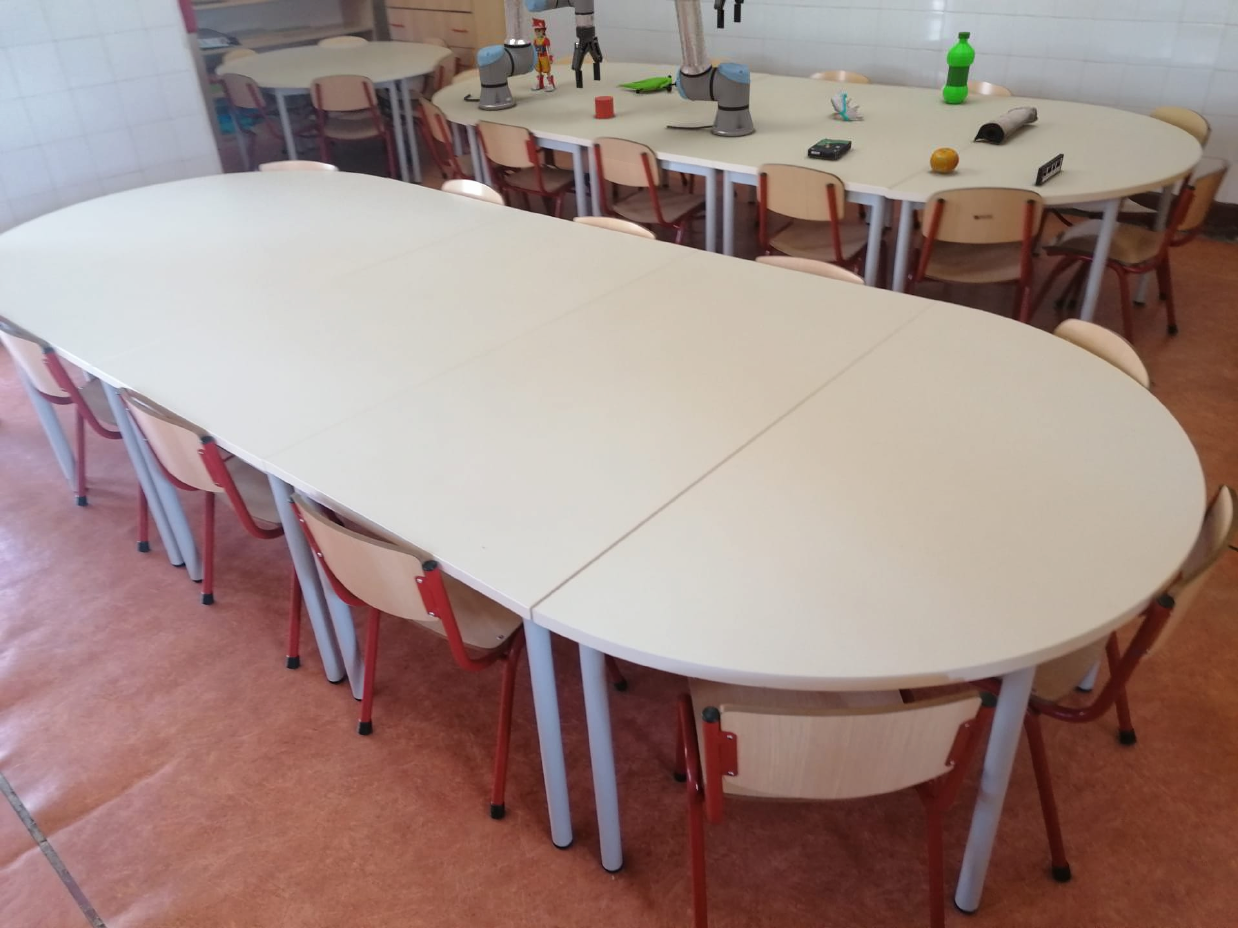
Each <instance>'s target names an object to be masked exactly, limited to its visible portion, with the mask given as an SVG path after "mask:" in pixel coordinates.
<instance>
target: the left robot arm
mask: <svg viewBox="0 0 1238 928" xmlns="http://www.w3.org/2000/svg"><path fill="white" fill-rule="evenodd" d="M503 3H504V18H505V30H506V31H505V32H506V38H505V39H504V40H503V45H501V44H493V45H489V46H485V47H483V48H481V49H480V50H478V52H477V56H476V59H477V61H476V63H477V67H478V74H479V75H478V76H479V82H480V95H479V98H469V97H471V93H469V94H467V95H465V96H464V97H463V99H464V101H468V102H478V106H479V109H480V110H484V111H500V110H506V109H510V108H512V107H514V106H515V99H514V97H513V95H512V92H511V89H510V86H509V81H508V79H509V78H513V77H518V76H522V75H527V74H529V73H532V72H533V71H534V70H535V67H536V65H537V59H538V56H537V51H536V50H535V49H536V48H535V46H534V45H533V43H532V41H531V39H530V38H529V37H528V30H527V16H526V15H527V14H526V13H527V12H526V9H527V11H528V12H530V13H542V12H546V11H550V10H556V9H562V8H574V23H575V26H576V27H575V37H576V38H577V39H578V42H576V41H575V42H573V43H574V46H573V47H574V49H573V56H572V62H571V67H570V68H571V70H572V71H574V75H575V76H574V77H575V88H576V89H584V79H583V69H582V67H583V63H584V60H585V57H586V55H587V54H588V53H589V54H590V57H591V59H592V60H593V62H592V70H593V71H592V72H593V81H597V82H600V81H601V64H602V63H603V60H604V57H603V53H602V50H601V47H600V44H599V39H598V36H596V26H595V24H596V22H595V19H596V17H595V0H503Z"/></svg>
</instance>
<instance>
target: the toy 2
mask: <svg viewBox="0 0 1238 928" xmlns="http://www.w3.org/2000/svg"><path fill="white" fill-rule="evenodd" d="M673 80H674V79H673V77H672V75H671V74H668V75H667V76H656V77H651V78H649V77H648V78H646V79H642V80H638V81H632V82H630V83H621V84H617V86H618V87H623V88H625V89H631V90H635V94H637V95H638V94H640V92H642V91H647V92H649V91H654V90H666V92H668V93H672V91H673V86H675V88H677V85H676V81H674V82H673Z"/></svg>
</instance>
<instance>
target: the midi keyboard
mask: <svg viewBox="0 0 1238 928" xmlns="http://www.w3.org/2000/svg"><path fill="white" fill-rule="evenodd" d="M1064 157H1065V153H1059V154H1058V155H1056V156H1055V157H1052V159H1051V160H1049V161H1047V162H1045V164H1042V165H1041V166H1039V167H1038V169H1037V175H1036V179H1035V186H1040V185H1042V183H1044V182H1045V181H1047V180H1048V179H1049V178H1051V177H1052V176H1054V175H1055V174H1056V173H1058V172H1060V171H1061V170H1062V165H1063V161H1064Z"/></svg>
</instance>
